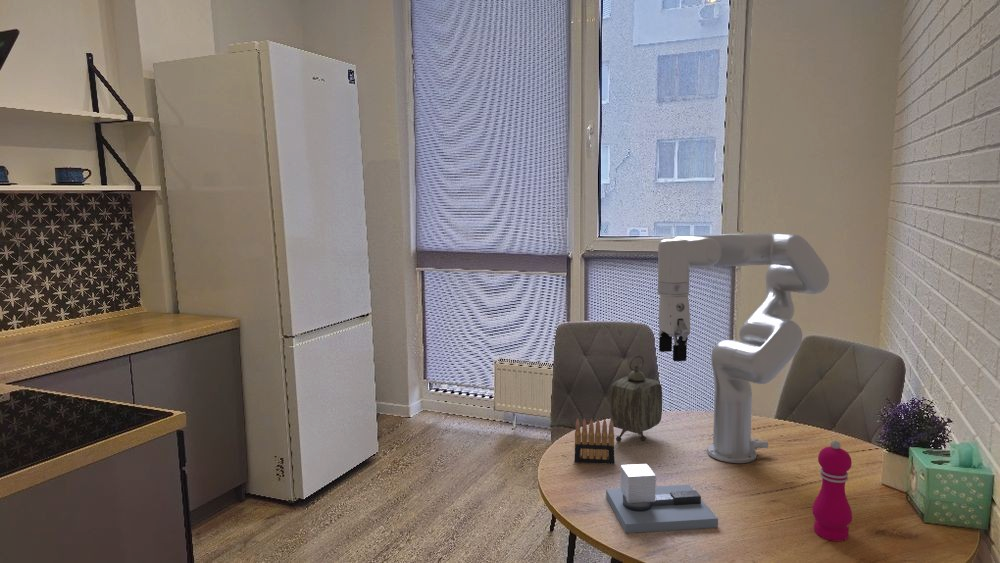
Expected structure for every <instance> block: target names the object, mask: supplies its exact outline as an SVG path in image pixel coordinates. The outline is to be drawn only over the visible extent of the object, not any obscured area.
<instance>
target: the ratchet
mask: <svg viewBox="0 0 1000 563" xmlns="http://www.w3.org/2000/svg"><path fill="white" fill-rule="evenodd" d="M701 499H702V495H700V493H699V492H698V491H697V490H696V489H695V490H694V489H693V491H676V492H670V494H661V495H655V502H639V503H628V502H627V500H626V498H625V497H624V495H623V506H624V507H625V508H627V509H629V510H632V511H638V512H642V511H647V510H650V509H651V508H652V506H665V505H689V504H701Z"/></svg>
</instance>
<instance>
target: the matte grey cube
mask: <svg viewBox="0 0 1000 563" xmlns="http://www.w3.org/2000/svg"><path fill="white" fill-rule="evenodd" d="M656 477H657V476H656V474H655V473H654V471H653V470H652V468H651V467H650V466H649V465H648V463H638V464H635V463H634V464H621V465H620V488H621V492H622V493H623V495H624V497H625V498H626V500H627V502H628V503H639V502H655V487H656V480H657V479H656Z"/></svg>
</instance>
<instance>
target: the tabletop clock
mask: <svg viewBox="0 0 1000 563" xmlns="http://www.w3.org/2000/svg"><path fill="white" fill-rule="evenodd" d="M638 358H640V359H641V364H640V365H638V364H635V365H634V367H632V363H633V361H634V360H635V359H638ZM643 365H644V357H643V355H640V354H639V355H638V354H637V355H634V356H633V357H632V358H631V359H630V361H629V366H628V367H629V369H630V370H631V371H630V372H628V374H627V376H623V377H621V378H620V379H617V380H616V381H614V382H613V384H612V385H611V389H610V395H609V396H610V397H609V398H610V399H609V420H612V421H613V427H614V428H617V429H620V430H622V431H621V432H620V434H619V435H617V436H616V437H615V441H616V442H618V443H619V442H621V441H622V436H623V435H624V434H625V433H626V432H631V433H634V434H638V433H639V434H640V438H639V439H640V441H641V442H645V441H646V439H647V438H646V436H645V435H644V432H646V431H647V430H651V429H653V428H654V427H656V426H658V425H659V424H660V422H661V420H662V414H663V387H662V385H661V383H660V382H659V381H658V380H656V379H652V378H647V377H646V376H645V373H643V372H642V371H641V370H640V369H641V368H642V367H643Z"/></svg>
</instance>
